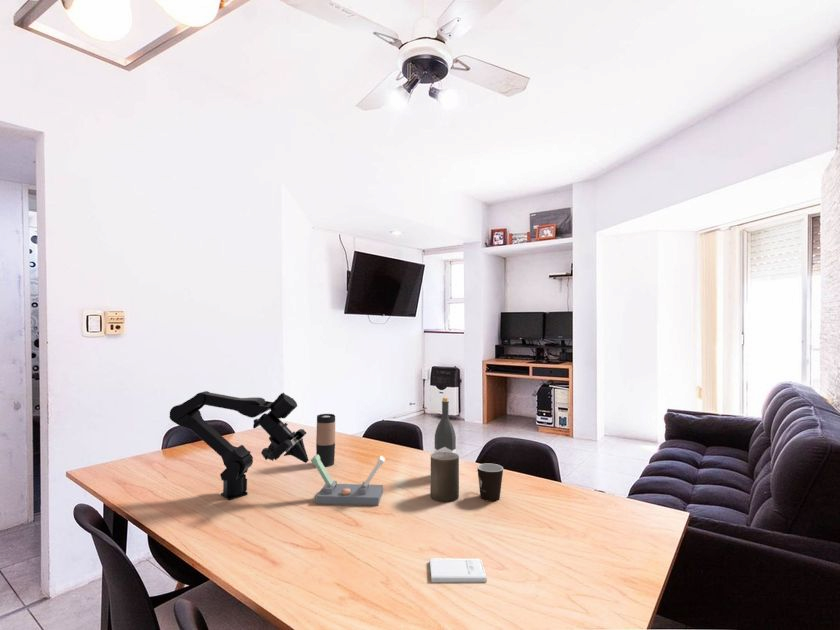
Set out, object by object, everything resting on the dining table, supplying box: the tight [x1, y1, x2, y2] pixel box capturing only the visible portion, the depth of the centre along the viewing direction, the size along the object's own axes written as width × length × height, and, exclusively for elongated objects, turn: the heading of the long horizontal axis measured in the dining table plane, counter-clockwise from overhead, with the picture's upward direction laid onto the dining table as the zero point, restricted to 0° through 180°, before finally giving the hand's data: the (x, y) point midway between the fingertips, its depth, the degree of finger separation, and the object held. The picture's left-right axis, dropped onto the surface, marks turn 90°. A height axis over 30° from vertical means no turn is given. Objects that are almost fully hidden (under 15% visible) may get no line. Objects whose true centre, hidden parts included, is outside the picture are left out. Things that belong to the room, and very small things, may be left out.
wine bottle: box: [434, 396, 457, 454], centre depth 162 cm, size 8×8×30 cm
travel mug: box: [315, 413, 336, 468], centre depth 176 cm, size 8×8×20 cm
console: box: [315, 480, 384, 507], centre depth 141 cm, size 20×11×4 cm, turn 88°
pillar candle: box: [429, 452, 460, 503], centre depth 143 cm, size 10×10×15 cm
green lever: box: [310, 454, 336, 489], centre depth 141 cm, size 2×4×12 cm
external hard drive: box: [429, 557, 488, 583], centre depth 99 cm, size 2×8×12 cm
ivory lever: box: [361, 455, 386, 489], centre depth 141 cm, size 2×4×12 cm
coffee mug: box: [476, 462, 504, 503], centre depth 144 cm, size 12×9×10 cm
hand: (307, 461), depth 142 cm, fingers closed
